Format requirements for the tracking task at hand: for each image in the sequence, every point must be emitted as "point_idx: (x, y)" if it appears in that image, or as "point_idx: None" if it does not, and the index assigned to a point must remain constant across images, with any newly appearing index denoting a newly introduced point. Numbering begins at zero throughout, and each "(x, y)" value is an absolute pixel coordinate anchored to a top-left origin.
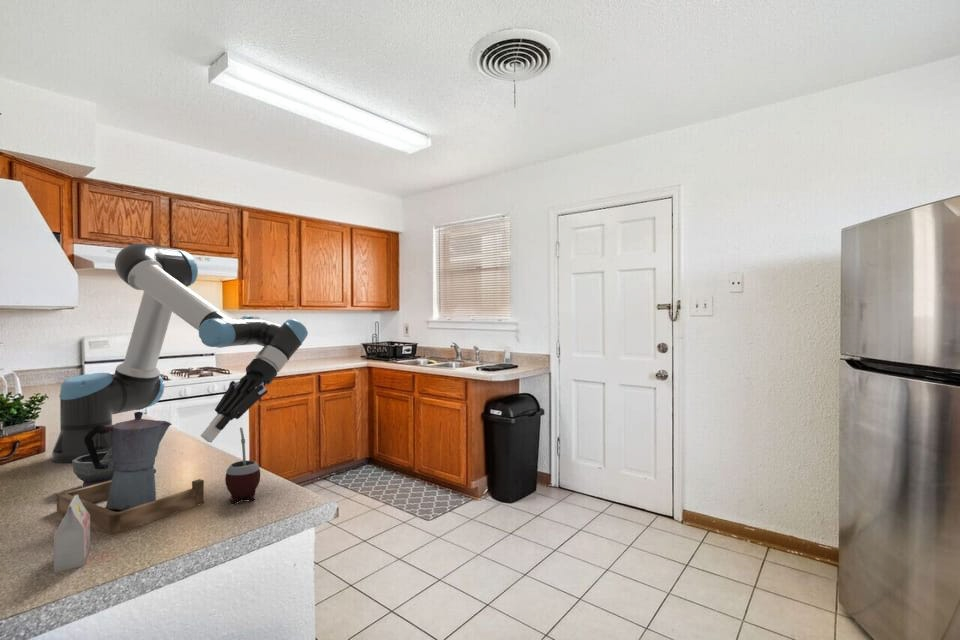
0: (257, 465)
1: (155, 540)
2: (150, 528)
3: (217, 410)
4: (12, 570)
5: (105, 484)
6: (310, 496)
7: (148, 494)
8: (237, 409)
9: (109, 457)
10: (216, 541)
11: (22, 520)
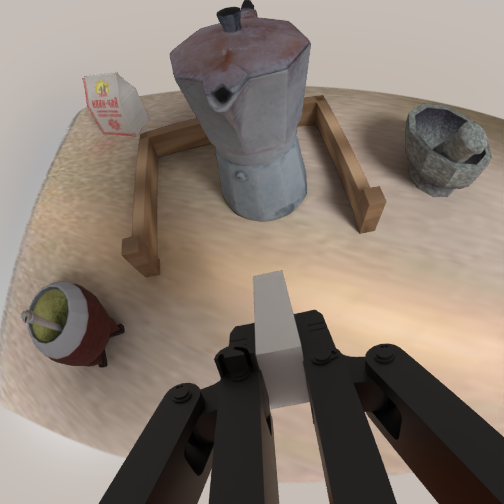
0: (33, 342)
1: (86, 187)
2: (124, 188)
3: (367, 357)
4: (155, 95)
5: (336, 143)
6: (24, 415)
7: (225, 190)
8: (154, 424)
9: (441, 144)
10: (26, 236)
11: (314, 94)
